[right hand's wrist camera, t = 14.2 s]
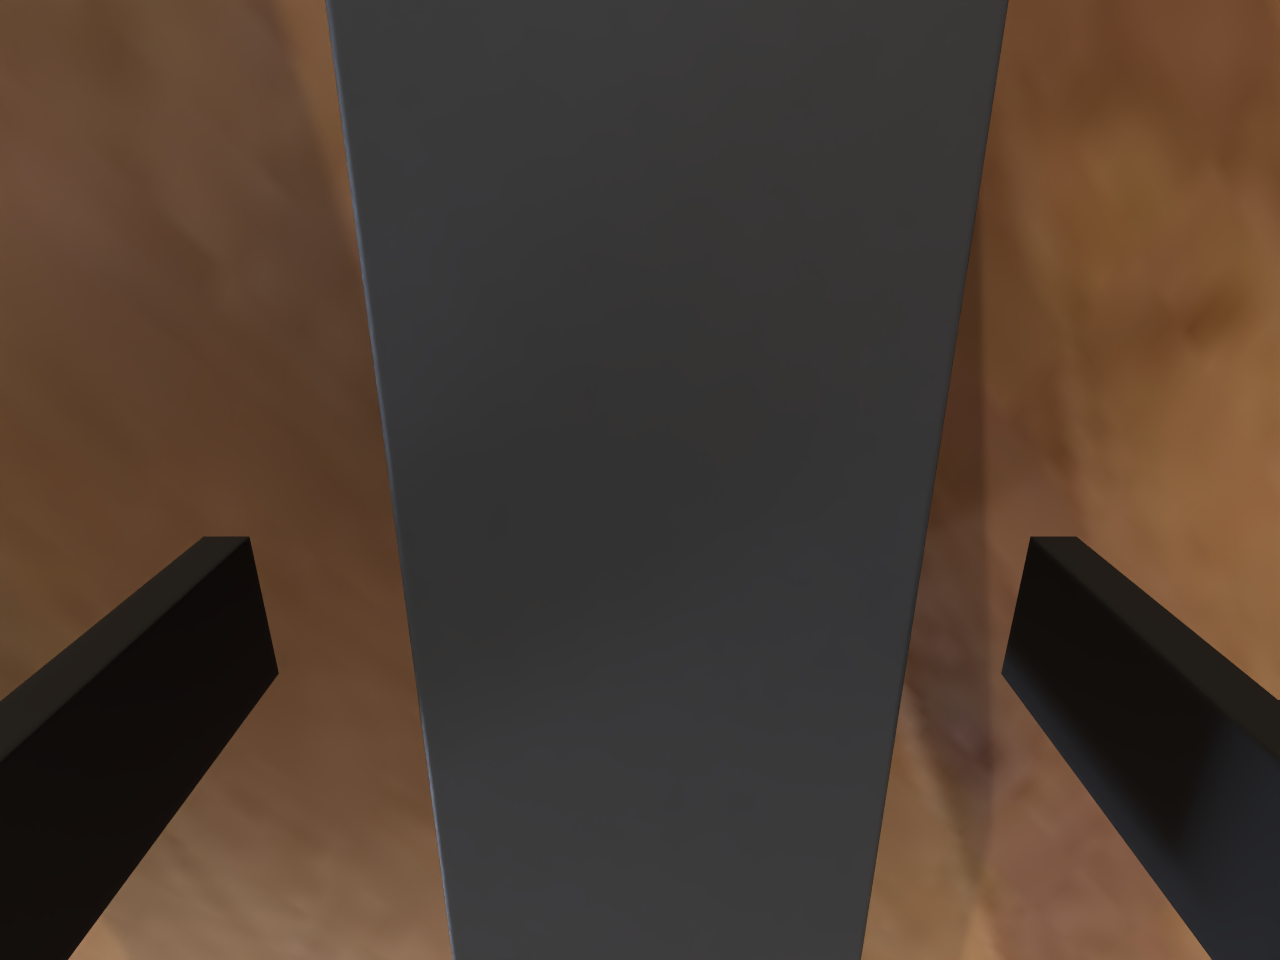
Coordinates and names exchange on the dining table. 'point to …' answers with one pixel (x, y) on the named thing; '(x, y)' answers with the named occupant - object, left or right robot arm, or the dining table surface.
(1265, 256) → the dining table surface
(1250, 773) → the right robot arm
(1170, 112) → the dining table surface
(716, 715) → the bar
